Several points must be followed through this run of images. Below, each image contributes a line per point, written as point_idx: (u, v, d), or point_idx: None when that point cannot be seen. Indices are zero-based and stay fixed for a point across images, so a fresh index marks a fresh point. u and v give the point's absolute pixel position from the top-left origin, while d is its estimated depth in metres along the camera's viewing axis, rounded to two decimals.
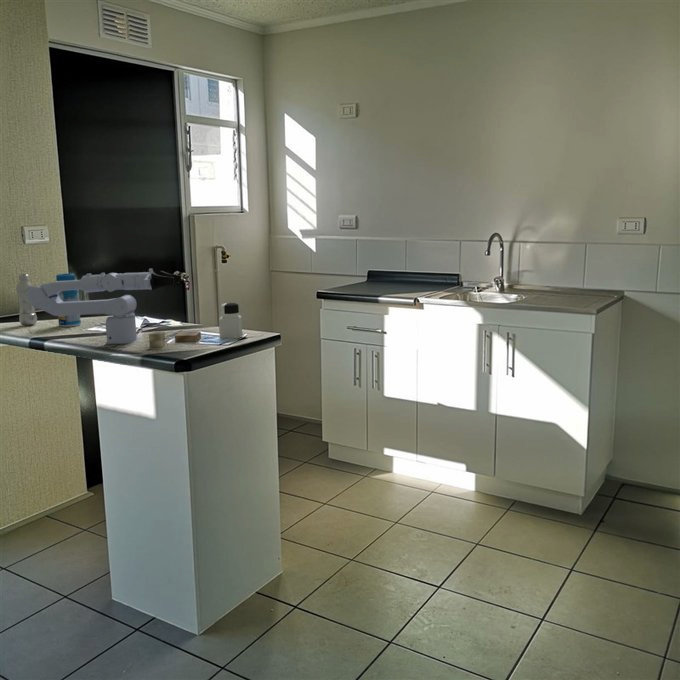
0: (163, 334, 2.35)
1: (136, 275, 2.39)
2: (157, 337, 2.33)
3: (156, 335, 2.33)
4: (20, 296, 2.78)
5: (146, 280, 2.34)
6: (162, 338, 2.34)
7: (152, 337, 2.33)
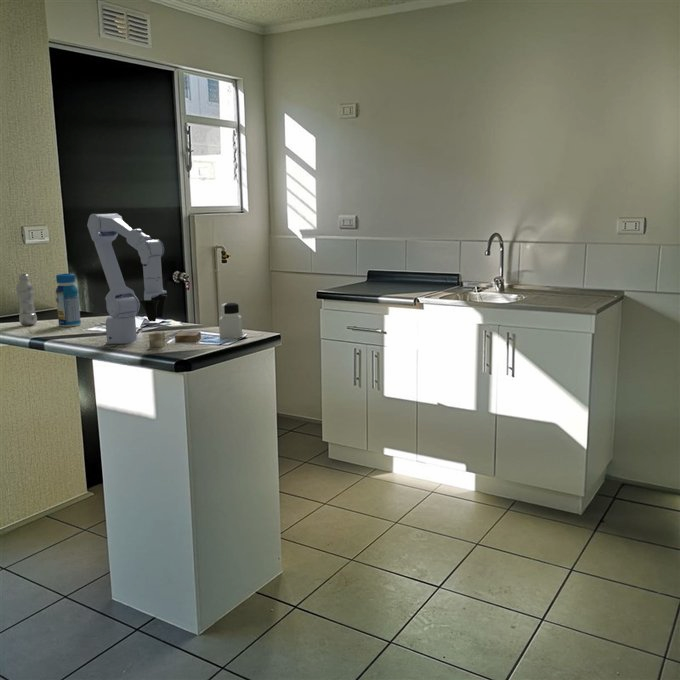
0: (163, 334, 2.35)
1: (157, 279, 2.29)
2: (157, 337, 2.33)
3: (156, 335, 2.33)
4: (20, 296, 2.78)
5: (149, 297, 2.25)
6: (162, 338, 2.34)
7: (152, 337, 2.33)
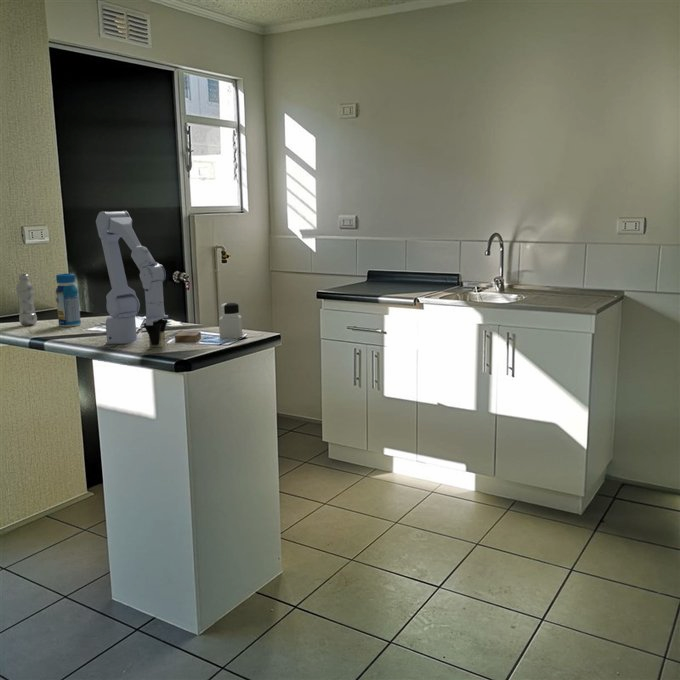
0: (163, 334, 2.35)
1: (159, 304, 2.31)
2: None
3: None
4: (20, 296, 2.78)
5: (151, 322, 2.27)
6: (162, 338, 2.34)
7: None
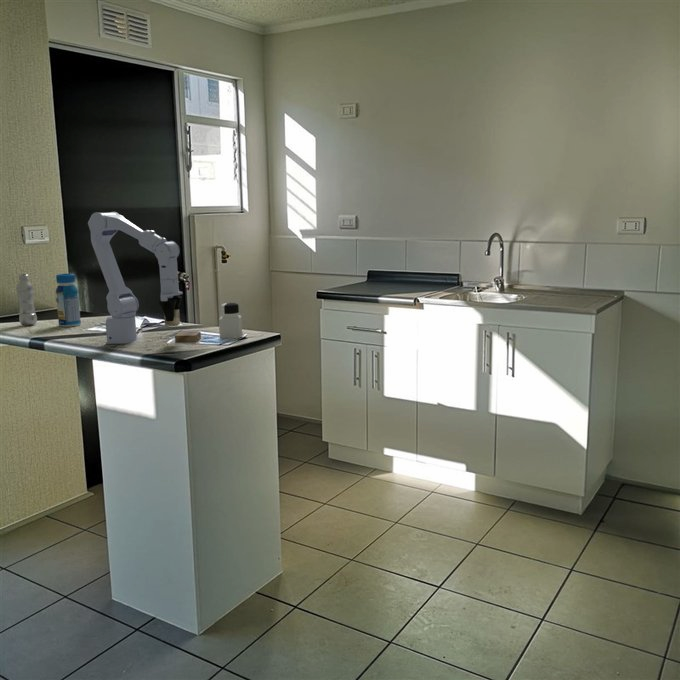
0: (177, 311, 2.37)
1: (173, 280, 2.33)
2: None
3: None
4: (20, 296, 2.78)
5: (165, 298, 2.29)
6: (177, 315, 2.37)
7: None
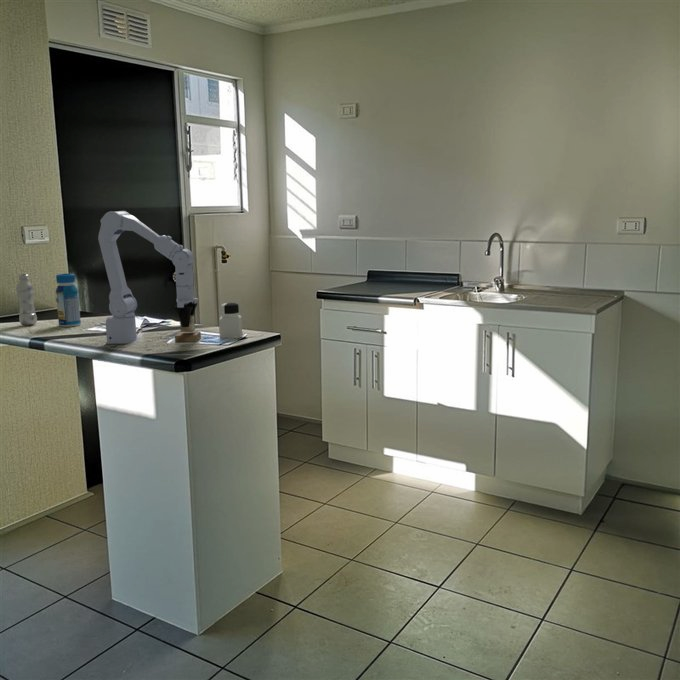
0: (193, 317, 2.42)
1: (189, 287, 2.38)
2: None
3: None
4: (20, 296, 2.78)
5: (182, 304, 2.34)
6: (192, 321, 2.42)
7: None
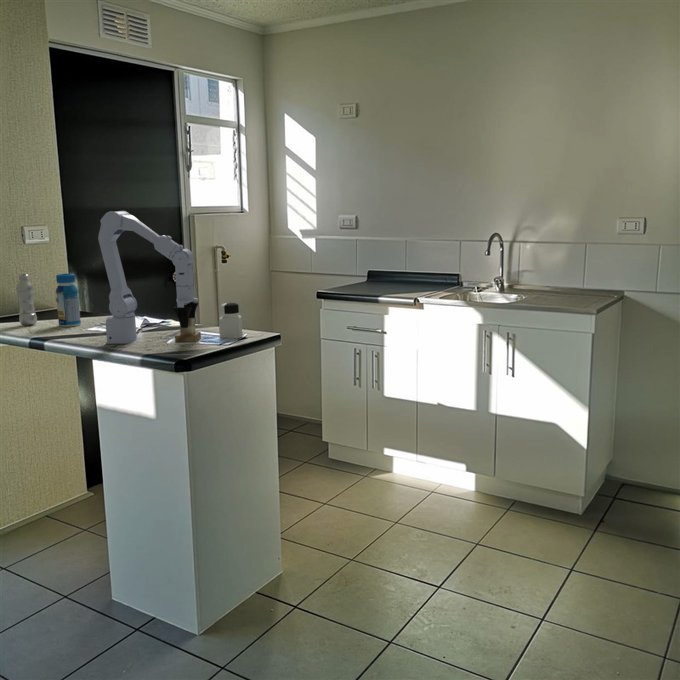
0: (193, 320, 2.42)
1: (189, 287, 2.38)
2: (188, 323, 2.40)
3: None
4: (20, 296, 2.78)
5: (182, 304, 2.34)
6: (192, 324, 2.42)
7: None
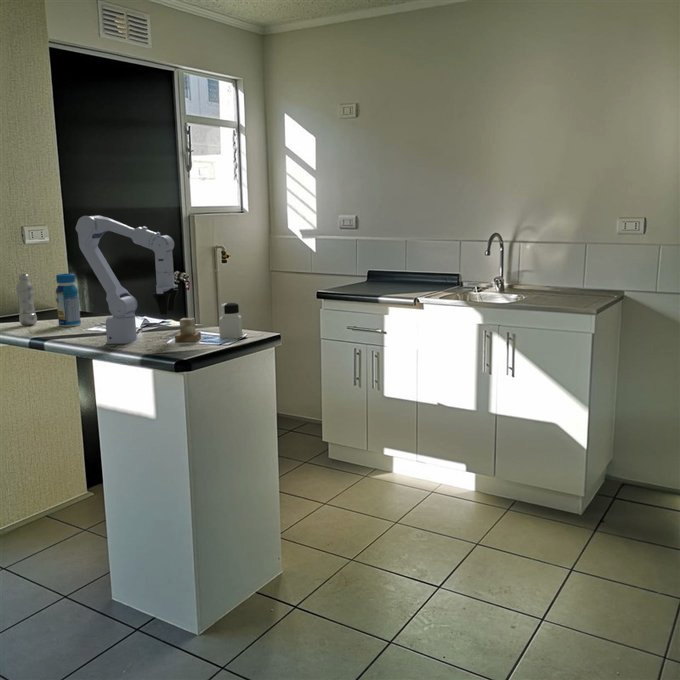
0: (193, 320, 2.42)
1: (169, 273, 2.37)
2: (188, 323, 2.40)
3: (187, 321, 2.40)
4: (20, 296, 2.78)
5: (161, 291, 2.33)
6: (192, 324, 2.42)
7: (183, 322, 2.40)
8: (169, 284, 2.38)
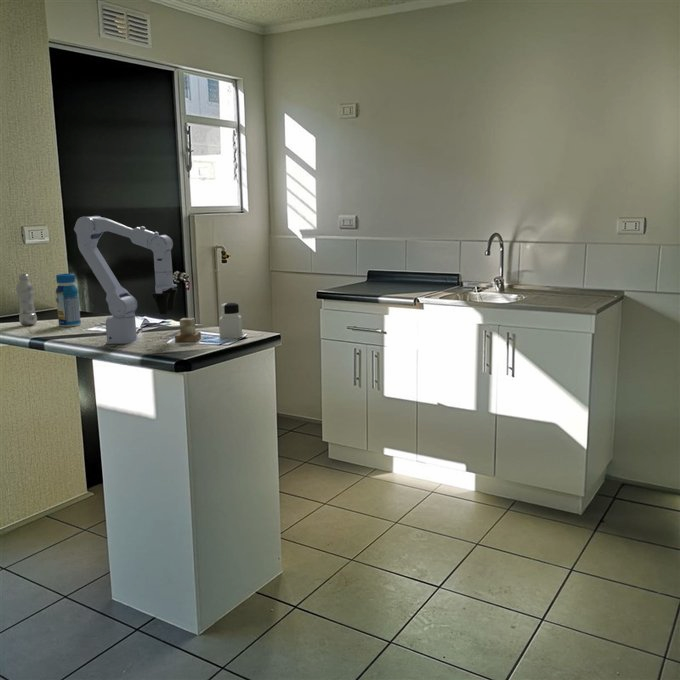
0: (193, 320, 2.42)
1: (168, 273, 2.37)
2: (188, 323, 2.40)
3: (187, 321, 2.40)
4: (20, 296, 2.78)
5: (160, 290, 2.33)
6: (192, 324, 2.42)
7: (183, 322, 2.40)
8: (168, 284, 2.38)
